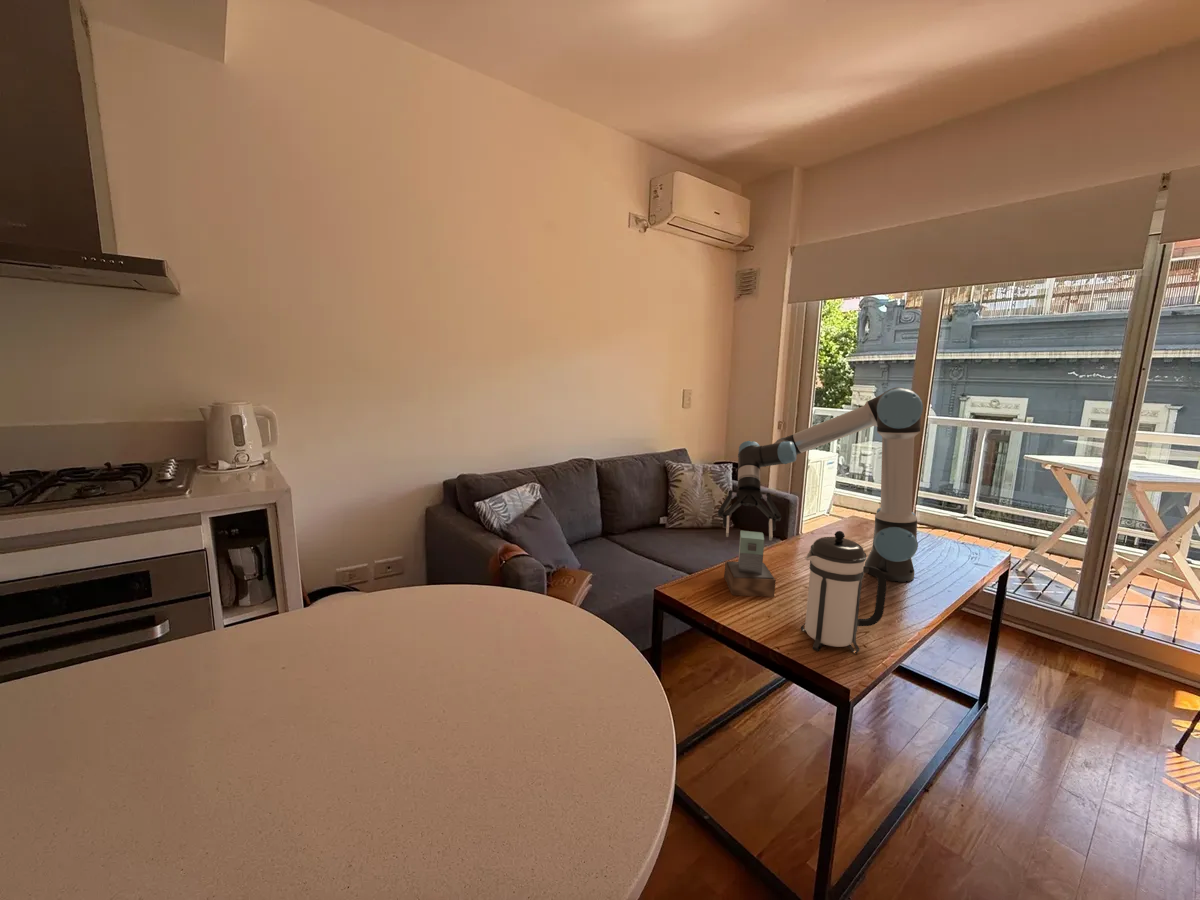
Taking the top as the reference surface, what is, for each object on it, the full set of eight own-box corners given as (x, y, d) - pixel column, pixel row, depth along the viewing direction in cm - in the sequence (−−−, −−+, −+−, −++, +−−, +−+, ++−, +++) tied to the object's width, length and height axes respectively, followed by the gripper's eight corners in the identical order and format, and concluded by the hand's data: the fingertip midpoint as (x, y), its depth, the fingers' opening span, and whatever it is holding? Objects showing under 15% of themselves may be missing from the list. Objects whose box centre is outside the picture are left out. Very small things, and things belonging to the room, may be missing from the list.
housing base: (760, 566, 164) (761, 547, 163) (761, 574, 157) (763, 555, 156) (738, 563, 166) (739, 545, 164) (738, 572, 159) (739, 552, 158)
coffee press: (845, 666, 120) (858, 547, 115) (786, 637, 132) (796, 528, 127) (880, 644, 130) (894, 533, 125) (822, 618, 143) (832, 517, 137)
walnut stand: (763, 579, 168) (764, 562, 167) (774, 596, 156) (775, 578, 155) (724, 577, 169) (725, 560, 168) (731, 594, 156) (733, 576, 155)
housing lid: (761, 547, 163) (762, 532, 162) (763, 556, 155) (764, 541, 154) (739, 545, 164) (740, 530, 164) (740, 554, 156) (741, 539, 155)
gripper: (785, 489, 175) (787, 545, 163) (712, 484, 180) (709, 538, 168) (788, 477, 169) (791, 535, 157) (712, 473, 174) (709, 528, 162)
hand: (748, 537), depth 163 cm, fingers open, 13 cm apart
